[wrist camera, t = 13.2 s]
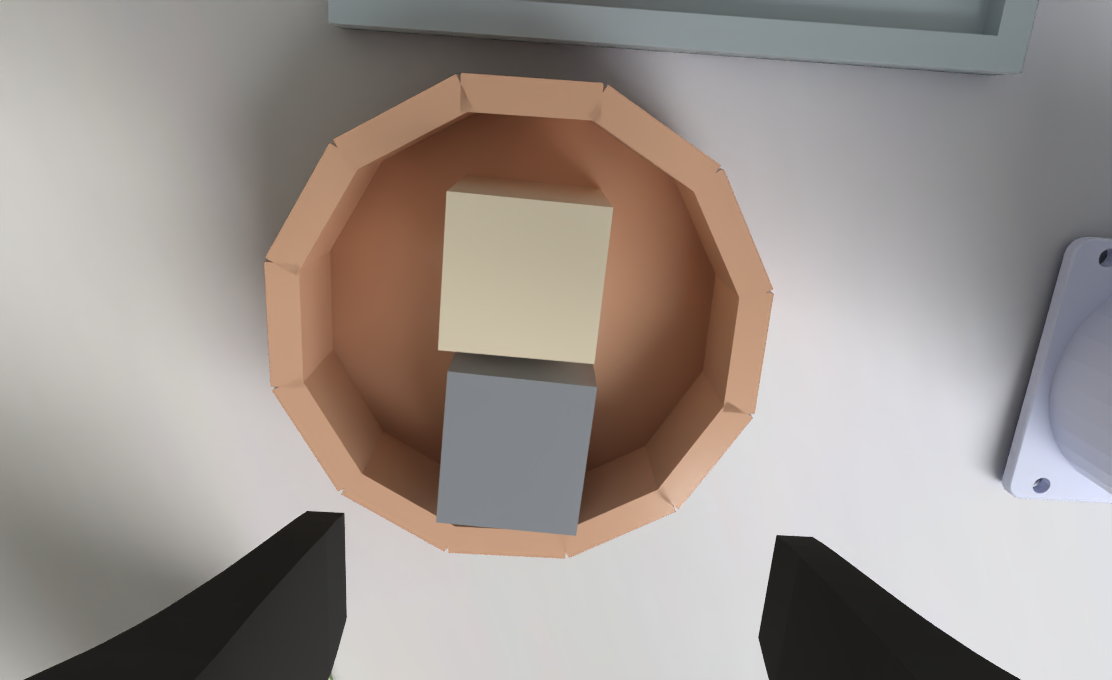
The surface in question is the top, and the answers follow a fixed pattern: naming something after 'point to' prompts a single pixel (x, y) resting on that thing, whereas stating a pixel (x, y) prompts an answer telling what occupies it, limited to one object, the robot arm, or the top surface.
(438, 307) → the bowl
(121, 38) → the top surface
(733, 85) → the top surface
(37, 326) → the top surface
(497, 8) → the parts tray
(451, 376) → the plain grey cube
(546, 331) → the cream matte cube
